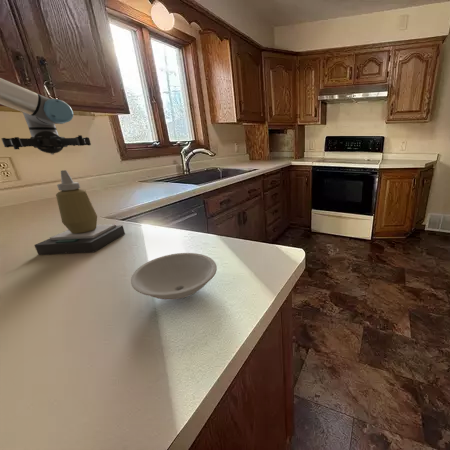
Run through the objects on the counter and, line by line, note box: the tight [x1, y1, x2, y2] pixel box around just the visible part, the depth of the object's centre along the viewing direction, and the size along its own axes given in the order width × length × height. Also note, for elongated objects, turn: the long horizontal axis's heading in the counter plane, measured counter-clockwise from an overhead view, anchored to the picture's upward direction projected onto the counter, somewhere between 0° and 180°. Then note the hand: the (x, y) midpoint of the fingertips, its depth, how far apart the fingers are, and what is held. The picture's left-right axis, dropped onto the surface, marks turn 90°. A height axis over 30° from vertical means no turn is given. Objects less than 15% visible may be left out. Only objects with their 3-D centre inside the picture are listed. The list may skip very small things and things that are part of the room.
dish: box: [130, 252, 218, 301], centre depth 48 cm, size 18×14×5 cm
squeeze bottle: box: [55, 169, 98, 233], centre depth 71 cm, size 8×8×18 cm
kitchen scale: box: [33, 223, 126, 256], centre depth 74 cm, size 15×14×4 cm
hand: (51, 141), depth 74 cm, fingers open, 13 cm apart
